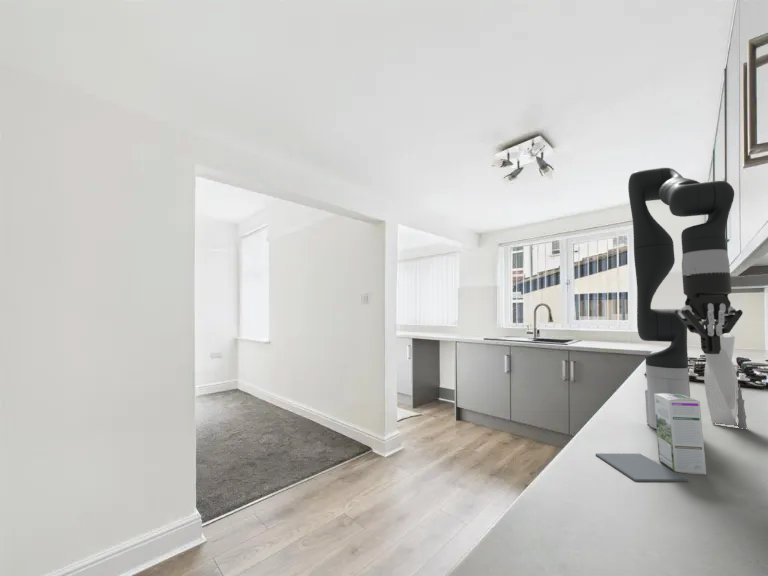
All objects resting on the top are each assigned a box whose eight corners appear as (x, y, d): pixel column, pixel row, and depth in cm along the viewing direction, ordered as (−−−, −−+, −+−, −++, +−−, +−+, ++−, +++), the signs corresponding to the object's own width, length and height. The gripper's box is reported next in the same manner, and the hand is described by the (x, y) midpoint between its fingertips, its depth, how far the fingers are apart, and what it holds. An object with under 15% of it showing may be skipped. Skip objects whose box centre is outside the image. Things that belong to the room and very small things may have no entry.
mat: (595, 455, 76) (595, 453, 76) (640, 455, 76) (640, 453, 76) (635, 481, 64) (635, 479, 64) (687, 481, 64) (687, 479, 64)
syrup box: (707, 475, 67) (702, 400, 68) (673, 472, 68) (668, 398, 69) (688, 463, 73) (683, 393, 74) (656, 460, 74) (652, 392, 75)
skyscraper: (706, 425, 99) (699, 328, 101) (702, 418, 105) (696, 327, 107) (748, 431, 94) (740, 329, 96) (741, 423, 100) (734, 328, 102)
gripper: (718, 275, 77) (724, 352, 76) (660, 275, 77) (665, 351, 76) (754, 270, 70) (761, 356, 69) (690, 270, 70) (696, 355, 69)
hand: (711, 353), depth 72 cm, fingers closed
